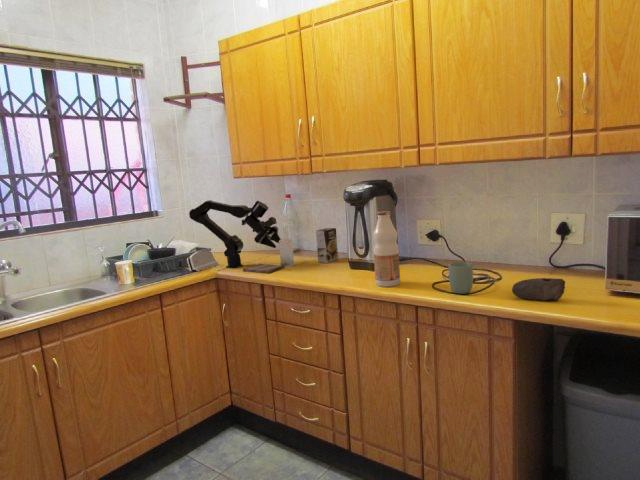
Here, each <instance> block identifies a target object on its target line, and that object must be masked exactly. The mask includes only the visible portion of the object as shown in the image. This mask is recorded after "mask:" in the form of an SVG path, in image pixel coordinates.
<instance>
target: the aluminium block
mask: <svg viewBox="0 0 640 480" xmlns="http://www.w3.org/2000/svg"><path fill="white" fill-rule="evenodd" d="M280 239H281V238H280ZM278 246H279V248H278V249H279V258H280V265H284V268H289V267H293V266H294V265H295V258H294V257H295V256H294V248H293V238H282V239H281V240H279V243H278Z"/></svg>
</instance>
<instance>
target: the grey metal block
mask: <svg viewBox="0 0 640 480" xmlns="http://www.w3.org/2000/svg"><path fill="white" fill-rule="evenodd" d="M186 262H187V265H188V269H189V272H190V271H191V272H193V270H194V271H196V272H197V271H199V272H201V271H204V270H207V269H211V268H213V267H215V266H219V261H217V260H216V258H215V257H214V255H213V253H212V251H210V250H199V251H195V252H194V253H192V254H191V255H190V256H188V257H187V258H186ZM200 270H201V271H200Z"/></svg>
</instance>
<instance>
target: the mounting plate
mask: <svg viewBox="0 0 640 480" xmlns="http://www.w3.org/2000/svg"><path fill="white" fill-rule="evenodd" d="M283 269H285V267H284V265H281V264H271V263H270V264H269V263H257V264H254V265H251V266H247V267H245V268H243V269H242V272H244V273H257V274H267V275H268V274H271V273H275V272H276V271H279V270H283Z"/></svg>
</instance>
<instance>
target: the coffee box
mask: <svg viewBox="0 0 640 480" xmlns="http://www.w3.org/2000/svg"><path fill="white" fill-rule="evenodd" d="M315 236H316V250H317V251H316V252H317V262H318V263H324V264H330V263H332V262H335V261H337V260H339V253H338V250H339V249H338V239H337V228H336V227H329V228H322V229H318V230H315Z"/></svg>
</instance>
